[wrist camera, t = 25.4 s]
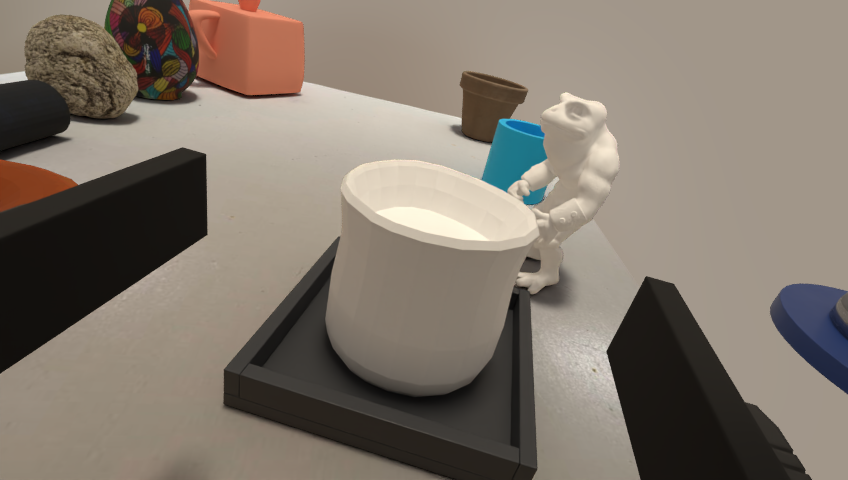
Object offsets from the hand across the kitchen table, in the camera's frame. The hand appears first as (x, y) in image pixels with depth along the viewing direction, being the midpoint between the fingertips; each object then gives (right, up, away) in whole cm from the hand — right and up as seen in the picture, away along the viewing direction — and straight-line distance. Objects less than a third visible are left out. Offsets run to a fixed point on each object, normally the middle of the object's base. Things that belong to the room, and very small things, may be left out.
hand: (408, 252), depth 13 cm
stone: (-37, +14, +37) cm, 54 cm away
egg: (-36, +20, +48) cm, 64 cm away
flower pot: (+10, +19, +67) cm, 71 cm away
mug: (+12, +7, +46) cm, 49 cm away
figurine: (+10, -2, +27) cm, 29 cm away
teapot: (-32, +28, +64) cm, 77 cm away
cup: (-1, -6, +14) cm, 15 cm away
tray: (-1, -6, +14) cm, 15 cm away
